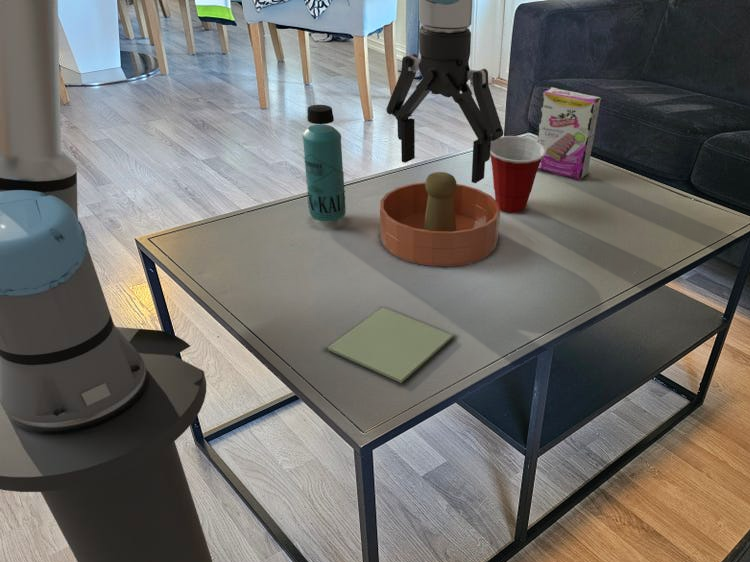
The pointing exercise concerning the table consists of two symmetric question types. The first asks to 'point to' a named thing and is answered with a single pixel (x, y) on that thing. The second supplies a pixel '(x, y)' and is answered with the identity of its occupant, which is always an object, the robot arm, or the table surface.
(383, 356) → the coaster
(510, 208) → the plastic cup
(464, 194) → the bowl
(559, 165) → the candy bar box
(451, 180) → the brown peg doll
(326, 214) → the beverage bottle
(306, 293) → the table surface
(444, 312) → the table surface
